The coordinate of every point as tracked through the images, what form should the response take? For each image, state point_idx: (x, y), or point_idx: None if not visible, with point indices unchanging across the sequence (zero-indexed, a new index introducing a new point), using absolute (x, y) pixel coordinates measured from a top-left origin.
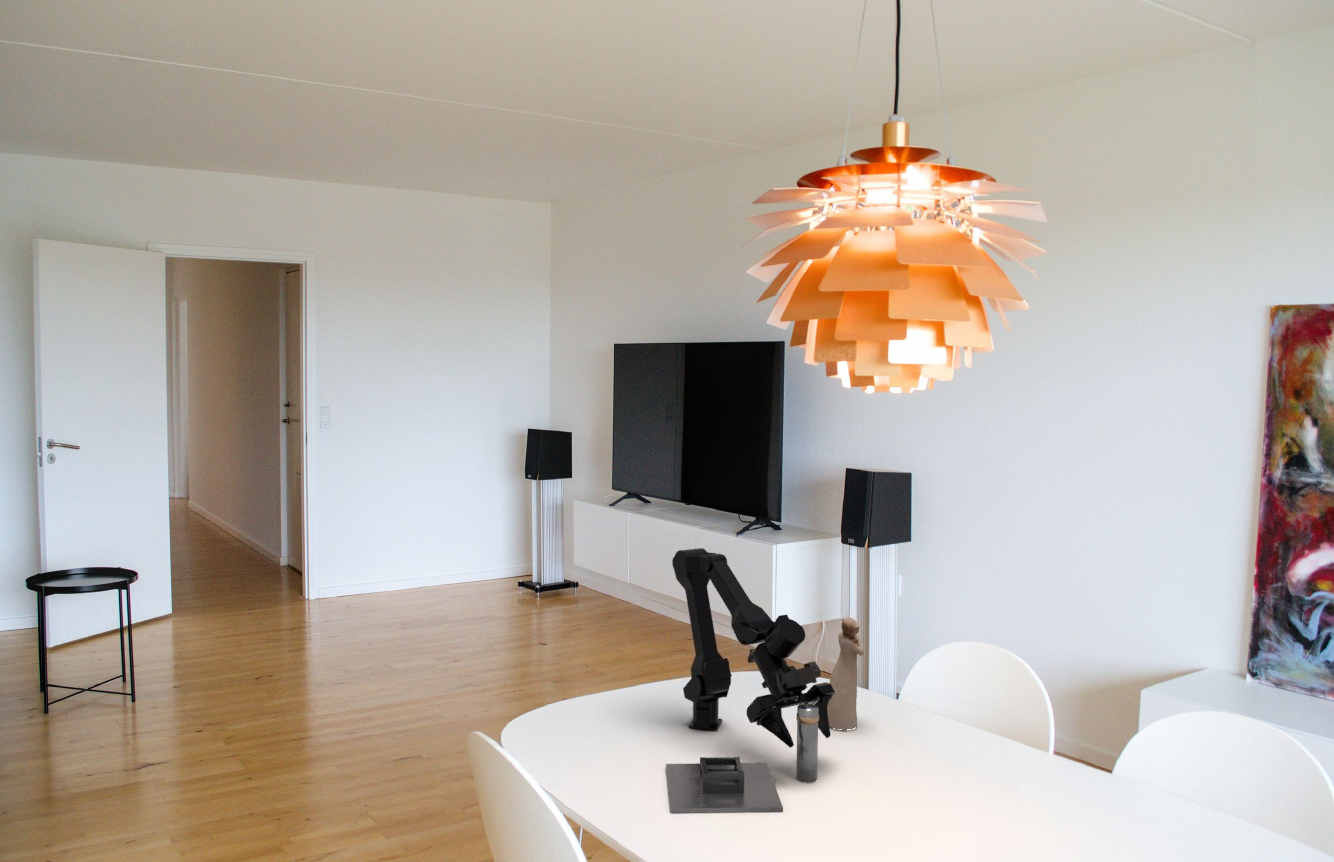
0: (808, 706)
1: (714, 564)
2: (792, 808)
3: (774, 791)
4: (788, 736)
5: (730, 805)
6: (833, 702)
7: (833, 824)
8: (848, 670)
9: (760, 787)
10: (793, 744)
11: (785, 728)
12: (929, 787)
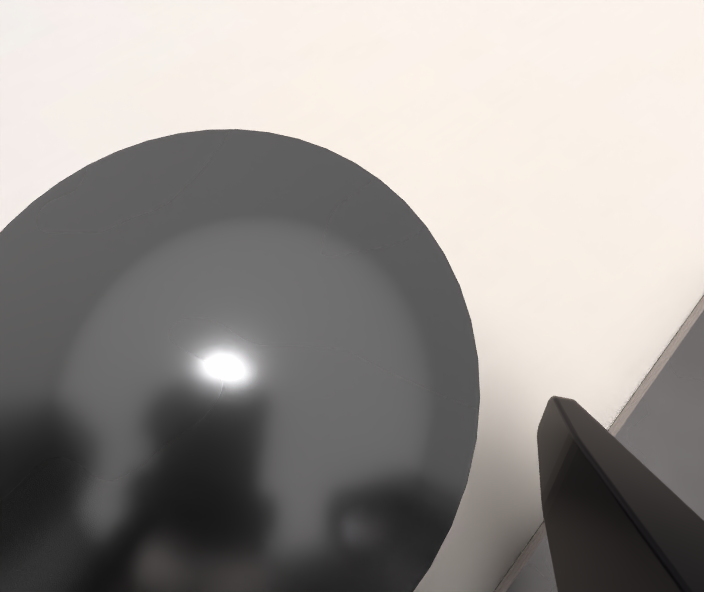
0: (121, 398)
1: None
2: (659, 259)
3: (656, 404)
4: (618, 452)
5: None
6: None
7: (612, 80)
8: None
9: (694, 497)
10: (556, 397)
11: (674, 527)
12: (83, 58)
